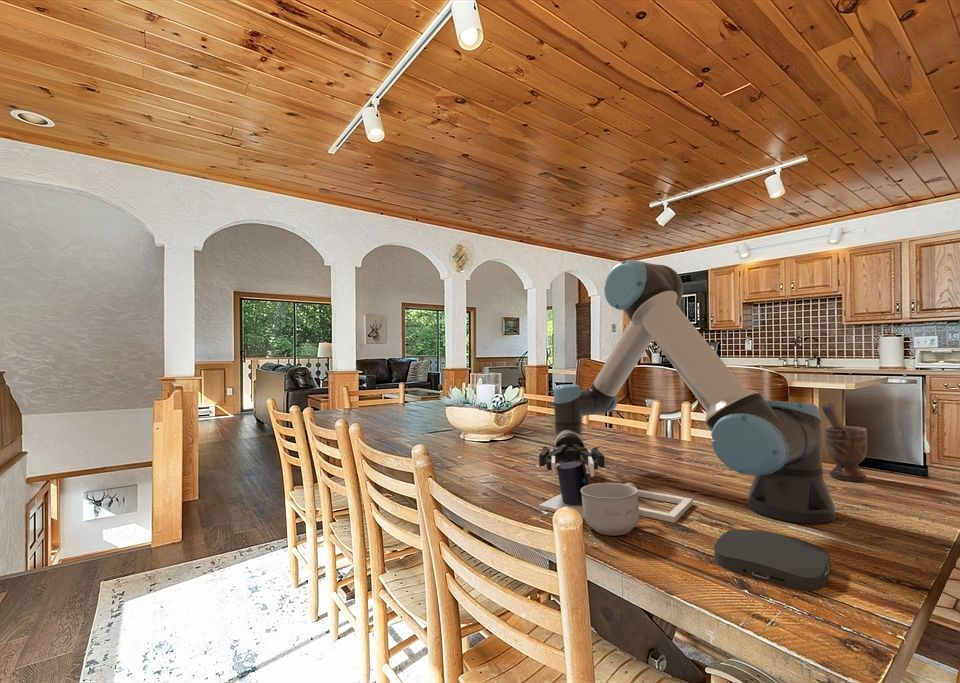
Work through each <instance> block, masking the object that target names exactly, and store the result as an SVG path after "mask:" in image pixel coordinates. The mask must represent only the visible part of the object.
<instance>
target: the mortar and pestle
mask: <svg viewBox="0 0 960 683" xmlns="http://www.w3.org/2000/svg"><path fill="white" fill-rule="evenodd" d="M821 410H822V412H823V414H824V416H825V417H826V419H827V420H828V422H829V423H830V425H828V426H827V425H826V426H825V427H824V440H825V446H826V450H827V453H828V455H829V456H830V457H831V458H832V459H833V461H835V463H836V464H835V466H834V467H833V469H832V470H831V471H830V474H829V476H831V477H833V478H834V479H836V480H840V481H844V482H845V481H846V482H854V483H855V482H857V483H858V482H859V483H860V482H866V481H867V475H866V473H865V472H864V471H862V470H861V468H859V464H860V463H861V462H863V461H864V460H865V458H866V455H867V452H868V430H867V427H859V426H852V425H849V426H848V425H843V424H842V421H841V417H840V414H839V412H838V409H837V407H836V405H835V404H834V403H831V402H826V403H824V404H822V406H821Z"/></svg>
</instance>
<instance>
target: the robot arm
mask: <svg viewBox="0 0 960 683" xmlns="http://www.w3.org/2000/svg"><path fill="white" fill-rule="evenodd" d="M604 282H605V284H604V287H603V293H604V297H605V300H606V302H607V304H609V306H611V307H612V308H614V309H615V310H619V311H623V312H624V313H625V315H627V317H628V318H629V319H630V321H629V323H628V325H627V326H626V328H625V330H624V331H623V333H622V334H621V337H620V338H619V340H618V341H617V343H616V344H615V346H614V348H613V349H612V352H611V353H610V354H609V356H608V357H607V359H606V361H605V362H604V364H603V366H602V367H601V370H599V372H598V374H597V376H596V377H595V379H594V381H593V383H592V384H591V385H590V387H589V389H581V385H578V384H573V383H572V384H569V383H568V384H558V385H556V386H555V387H554V389H553V390H554V392H553V403H554V404H553V407H554V409H553V410H554V447H553V449H551V448H550V447H547V446H543V447H542V450H541V452H540V453H539V455H538V462H539V463H538V466H539V467H545V466H546V470H547V471H551V476H553V477H555V476H556V465H558V464H560V463H565V462H575V461H576V462H581V457H580V455H582V456H583V459H584V462H585V466H586V465H587V466H588V467H587V468H588V473H589V476H590V477H595V470H599V468H605V467H606V466H605V455H604V454H603V453H601V452H600V450H599V448H598V447H592V448H590V449H589V450H588V448H586V447H585V445H584V444H585V443H584V441H583V435H582V434H583V433H582V432H583V431H582V425H583V424H582V417H584V416H585V417H586V416H592V415H593V416H594V415H604V414H607V413H609V412H612V411H614V410H615V409H616V408H617V405H618V404H617V403H618V396H617V395H618V394H619V392H620V390H621V389H622V387H623V385H624V384H625V383H626V381H627V380H628V377H629V376H631V373H632V371H633V370H634V369H635V367H636V366H637V364H638V363H639V361H640V360H641V358H642V356H643V355H644V354H645V352H646V350H647V349H648V347H649V346H650V344H651V343H652V341H654V342H655V343H656V345H657V346H658V347H659V349H660V351H661V352H662V353H663V354H664V356H665V357H666V359H667V360H668V361H669V362H670V364H671V365H672V366H673V368H674V370H675V371H676V372H677V373H678V375H679V376H680V378H681V379H682V380H683V381H684V383H685V384H686V385H687V387H688V388H689V389H690V391H691V392H692V394H693V395H694V397H695V398H696V399H697V401H698V402H699V403H700V404H701V406H702V407H703V409H704V410H705V412H706V415H705V416H706V417H705V421H704V422H705V424H706V425H707V427H708V428H709V430H710V431H711V435H710V436H711V440H710V443H711V446H712V450H713V452H714V454H715V455H716V457H717V458H718V459H719V461H721V463H723V465H724V466H726V467H728V468H729V469H731V470H732V471H734V472H736V473H739V474H743V475H746V476H753V479H752V482H751V485H750V487H749V490H748V494H747V505H748V507H749V508H750V509H751V510H752V511H754V512H755V513H757V514H760V515H762V516H765V517H768V518H772V519H776V520H780V521H785V522H790V523H791V522H792V523H800V524H815V525H816V524H818V525H819V524H826V523H827V524H828V523H831V522H833V521H835V520H836V507H835V504H834V500H833V498H832V496H831V494H830V491H829V489H828V486H827V485H826V482H825V479H824V475H823V472H824V471H823V450H822V449H823V448H822V446H823V444H822V422H823V421H822V418H821V414H820V412H821V411H820V409H819V407H818V405H816V404H814V403H806V402H796V401H786V400H785V401H783V400H769V399H767V400H765V398H764V397H763V396H762V395H761V393H760V392H758V391H756V390H750V389H749V390H748V389H746V388H745V387H744V386H743V384H742V383H741V382H740V381H739V380H738V379H737V377H736V376H735V375H734V373H733V372H732V371H731V370H730V369H729V368H728V366H727V365H726V364H725V363H724V361H723V360H722V359H721V358H720V356H719V355H718V354H717V353H716V351H715V350H714V349H713V348H712V347H711V345H710V344H709V343H708V342H707V340H706V339H705V338H704V337H703V335H702V334H701V333H700V332H699V330H698V329H697V328H696V327H695V325H694V324H693V323H692V322H691V321H690V320H689V318H688V317H687V316H686V315H685V313H684V312H683V310H682V309H680V307H679V306H680V304H681V301H682V298H683V293H684V285H683V280H682V279H681V276H680V275H679V274H678V272H677V270H676V271H675V269H673V268H671V267H669V266H668V265H664V264H663V265H662V264H655V263H651V262H644V261H641V260H636V259H633V260H629V259H627V260H622V261H620V262H619V263H616V264H615V265H614V266H613V267H612V268H611V269H610V271H609V272H608V273H607V276H606V278H605V280H604Z"/></svg>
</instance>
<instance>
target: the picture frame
mask: <svg viewBox="0 0 960 683" xmlns="http://www.w3.org/2000/svg"><path fill="white" fill-rule="evenodd" d="M637 489H638V488H637ZM639 497H640V498H646V499H650V500H655V501H663V502H666V503H667V502H668V503H672V504H677V505H676V506H675V507H674V508H672V510H670V512H666V511H661V510H655V509H650V508H646V507H645V508H644V507H641V506H639V516H640V515H641V516H640V517H646V518H649V517H650V519H655V520H659V521H664V522H670V523H674V524H675V523H676V522H677V521H678V520H679V519H680V518H681V517H682V516H683V515H684V514H685V513H686V512H687V511H688V510H689V509H690V508H691V507H692V506H693V505H694V498H689V497H683V496H680V495H679V496H678V495H673V494H666V493H660V492H655V491H650V490H643V489H640V488H639V489H638V498H639Z"/></svg>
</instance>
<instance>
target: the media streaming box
mask: <svg viewBox="0 0 960 683" xmlns="http://www.w3.org/2000/svg"><path fill="white" fill-rule="evenodd" d="M713 548H714V561H715V563H716V564H717V565H718V566H720V567H722V568H724V569H725V570H728V571H731V572H734V573H738V574H741V575H744V576H748V577H751V578H754V579H758V580H762V581H763V582H769V583H772V584H775V585H778V586H782V587H786V588H791V589H794V590H799V591H805V592H806V591H809V592H810V591H811V592H812V591H813V592H814V591H819V590H822V589H823V588H824V587H825V585H826V584H827V581H828V579H829V576H830V573H831V572H830V571H831V566H832V565H831V553H830V552H829V551H828V550H826V549H824V548H822V547H821V546H818V545H817V544H814V543H812V542H809V541H808V540H807V541H806V540H803V539H800V538H797V537H794V536H791V535H790V536H789V535H786V534H781V533H779V532H771V531H767V530H759V529H729V530H727V531H725V532H723V533H722V534H721V535H720V536H719V538H718V539H717V540H716V542H715V544H714V546H713Z"/></svg>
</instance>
